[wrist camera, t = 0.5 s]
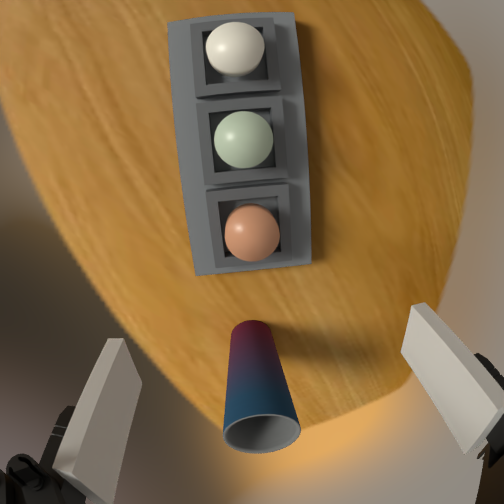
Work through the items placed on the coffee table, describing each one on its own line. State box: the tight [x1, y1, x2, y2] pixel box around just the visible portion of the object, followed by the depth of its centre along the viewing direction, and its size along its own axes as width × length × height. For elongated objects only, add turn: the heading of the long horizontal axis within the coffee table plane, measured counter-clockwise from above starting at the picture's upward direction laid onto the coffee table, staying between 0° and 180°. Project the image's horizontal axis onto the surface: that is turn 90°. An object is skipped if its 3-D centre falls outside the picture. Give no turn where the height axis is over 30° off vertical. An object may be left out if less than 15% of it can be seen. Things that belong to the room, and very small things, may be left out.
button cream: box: [206, 22, 264, 77], centre depth 20 cm, size 5×5×2 cm
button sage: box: [214, 111, 273, 168], centre depth 23 cm, size 5×5×2 cm
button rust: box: [225, 203, 280, 262], centre depth 26 cm, size 5×5×2 cm
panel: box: [168, 12, 311, 276], centre depth 26 cm, size 26×12×4 cm, turn 5°
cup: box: [223, 320, 301, 453], centre depth 29 cm, size 7×7×15 cm
